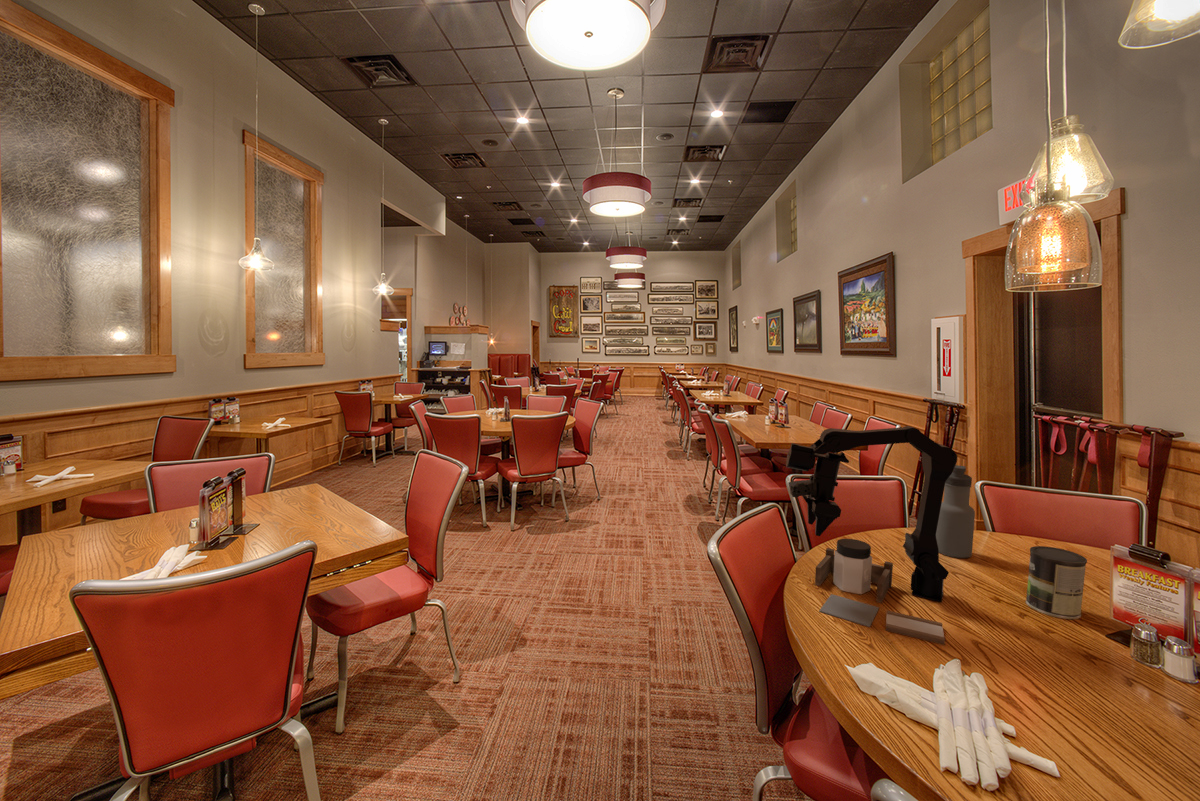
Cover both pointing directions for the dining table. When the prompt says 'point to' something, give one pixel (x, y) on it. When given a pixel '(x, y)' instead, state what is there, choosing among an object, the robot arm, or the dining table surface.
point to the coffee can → (1056, 582)
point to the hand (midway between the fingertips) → (813, 529)
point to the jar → (852, 566)
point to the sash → (915, 627)
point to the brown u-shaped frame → (878, 574)
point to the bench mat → (850, 610)
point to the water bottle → (956, 516)
